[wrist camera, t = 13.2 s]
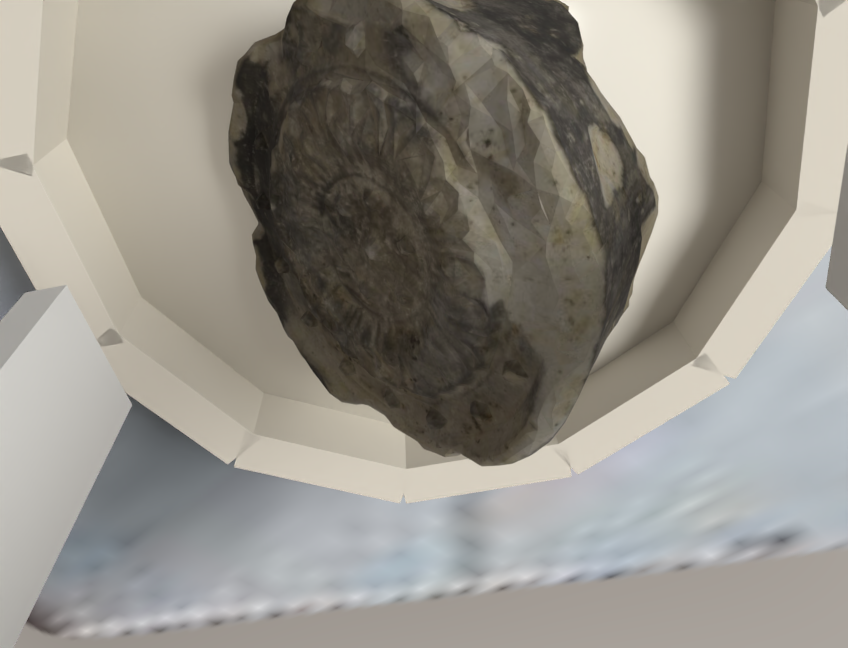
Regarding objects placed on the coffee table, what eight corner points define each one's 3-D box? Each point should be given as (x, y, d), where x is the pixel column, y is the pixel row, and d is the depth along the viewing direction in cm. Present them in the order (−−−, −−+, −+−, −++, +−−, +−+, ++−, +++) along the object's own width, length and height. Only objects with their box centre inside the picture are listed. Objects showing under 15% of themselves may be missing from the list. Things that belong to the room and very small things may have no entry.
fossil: (119, 75, 17) (195, 64, 8) (426, -82, 19) (735, -219, 10) (329, 408, 22) (508, 611, 13) (551, 253, 24) (823, 343, 16)
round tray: (-165, -236, 15) (-273, -259, 12) (873, -495, 13) (978, -577, 11) (196, 479, 26) (177, 540, 23) (778, 382, 24) (819, 436, 22)
